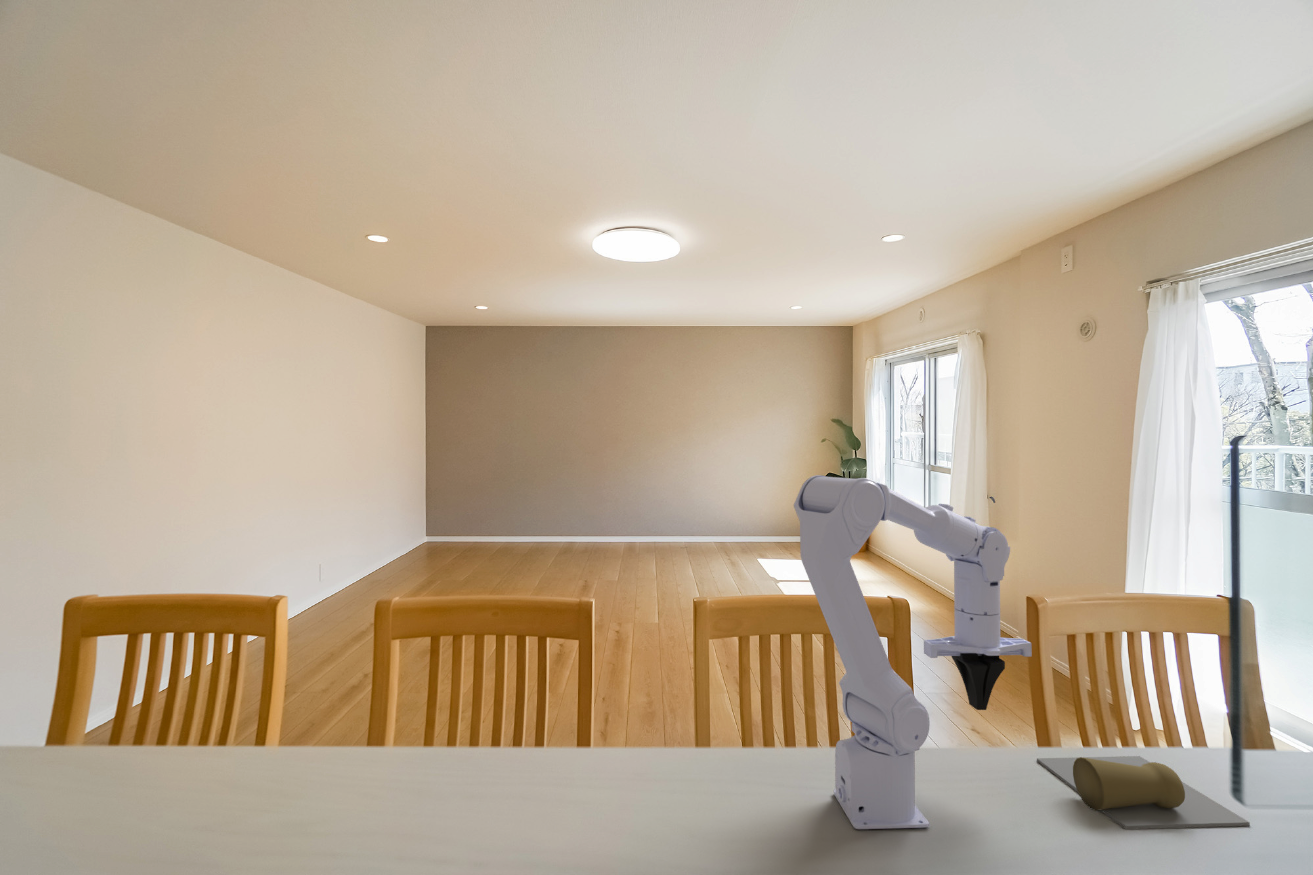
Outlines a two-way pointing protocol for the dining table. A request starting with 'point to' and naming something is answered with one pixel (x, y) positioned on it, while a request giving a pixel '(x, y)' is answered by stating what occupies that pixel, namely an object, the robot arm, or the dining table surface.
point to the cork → (1126, 784)
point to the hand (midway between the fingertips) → (977, 706)
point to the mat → (1188, 814)
